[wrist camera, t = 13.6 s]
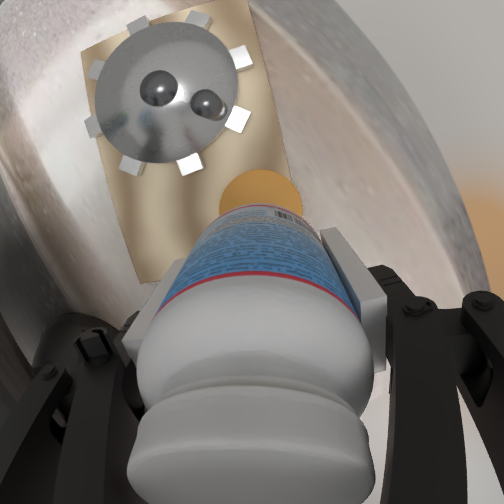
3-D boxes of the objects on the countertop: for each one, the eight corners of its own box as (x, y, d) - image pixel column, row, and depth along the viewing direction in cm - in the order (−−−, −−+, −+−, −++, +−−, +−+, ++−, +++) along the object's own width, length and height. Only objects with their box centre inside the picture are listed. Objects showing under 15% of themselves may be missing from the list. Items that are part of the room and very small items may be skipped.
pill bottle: (170, 242, 14) (31, 435, 4) (284, 175, 13) (360, 325, 3) (238, 336, 16) (212, 546, 6) (343, 285, 15) (431, 496, 4)
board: (144, 278, 31) (140, 283, 29) (86, 54, 23) (80, 52, 21) (303, 247, 29) (304, 252, 28) (245, -1, 21) (245, -6, 20)
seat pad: (230, 256, 28) (230, 257, 28) (210, 179, 26) (210, 180, 25) (308, 240, 27) (308, 242, 27) (293, 161, 25) (293, 162, 25)
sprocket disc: (69, 144, 25) (28, 149, 19) (132, 1, 20) (103, -25, 14) (209, 204, 26) (193, 223, 20) (285, 47, 21) (291, 20, 15)
